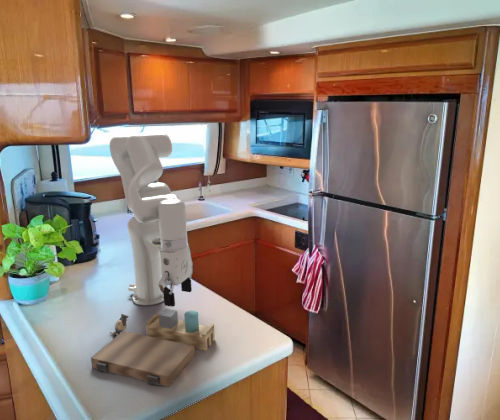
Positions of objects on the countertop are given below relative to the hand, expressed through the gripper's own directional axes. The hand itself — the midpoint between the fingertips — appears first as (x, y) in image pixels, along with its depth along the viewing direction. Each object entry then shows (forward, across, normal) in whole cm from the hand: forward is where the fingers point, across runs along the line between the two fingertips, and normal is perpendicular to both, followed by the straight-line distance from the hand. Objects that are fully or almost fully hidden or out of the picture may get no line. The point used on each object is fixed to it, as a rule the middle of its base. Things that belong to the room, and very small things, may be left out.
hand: (178, 298), depth 120 cm
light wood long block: (+14, +1, +1) cm, 14 cm away
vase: (+14, -2, +20) cm, 24 cm away
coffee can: (+13, +46, +35) cm, 59 cm away
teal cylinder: (+10, +1, -4) cm, 10 cm away
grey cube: (+10, +1, +4) cm, 11 cm away
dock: (+14, -12, +5) cm, 19 cm away
